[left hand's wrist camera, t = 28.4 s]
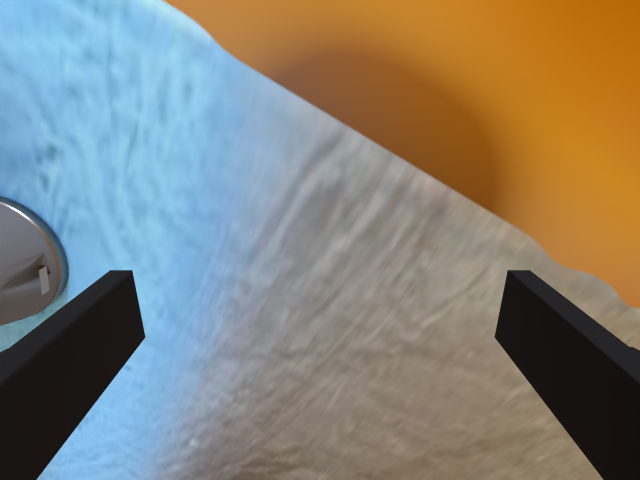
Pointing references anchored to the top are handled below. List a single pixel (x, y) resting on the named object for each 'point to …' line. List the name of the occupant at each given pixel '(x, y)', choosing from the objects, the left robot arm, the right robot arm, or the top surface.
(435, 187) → the top surface
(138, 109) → the top surface
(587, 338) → the left robot arm
